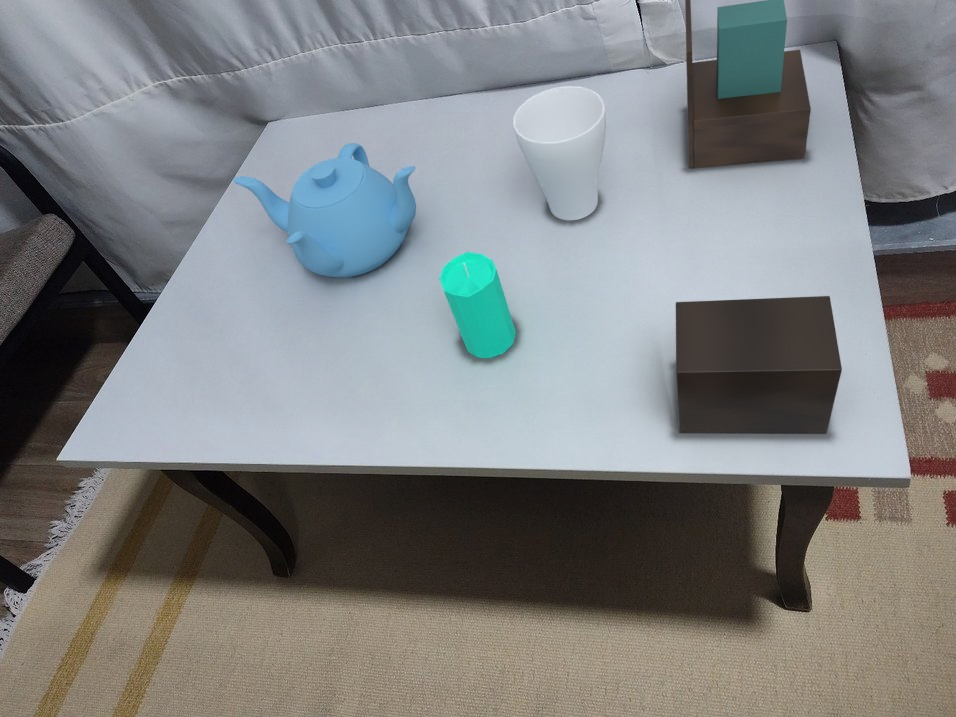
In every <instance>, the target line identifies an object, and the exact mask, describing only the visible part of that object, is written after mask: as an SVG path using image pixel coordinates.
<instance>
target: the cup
mask: <svg viewBox="0 0 956 717" xmlns="http://www.w3.org/2000/svg"><path fill="white" fill-rule="evenodd" d="M606 110H607V108H606V104H605V100H604V99H603V98H602V96H601V95H600V94H599V93H597V92H595V91H594V90H592V89H590V88H587V87H583V86H577V85H567V86H566V85H565V86H557V87H551V88H548V89H545V90H543V91H540V92H538V93H536V94H535V95H532V96H530V97H529V98H528V99H526V100H525V101H524V102H523V103H522V104H520V106H519V107H518V108H517V110H516V111H515V113H514V114H513V117H512V118H513V119H512V129H513V132H514V134H515V138H516V140H517V144H518V146H519V148H520V150H521V152H522V155H523V157H524V159H525V161H526V163H527V165H528V167H529V168H530V170H531V172H532V174H533V175H534V177H535V179H536V181H537V182H538V184H539V186H540V188H541V190H542V192H543V193H544V195H545V199H546V201H547V204H548V207H549V210H550V212H551V214H552V215H553V216H554V217H555V218H557V219H559V220H562V221H576V220H581V219H583V218H587V217H588V216H589V215H591V214H592V213H593V212H594V211H595V210H596V209H597V207H598V205H599V179H600V171H601V165H602V160H603V155H604V150H605V141H606V131H607V111H606Z"/></svg>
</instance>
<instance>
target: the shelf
mask: <svg viewBox="0 0 956 717" xmlns="http://www.w3.org/2000/svg"><path fill="white" fill-rule="evenodd" d="M691 1H692V0H684V7H685V8H684V9H685V10H684V12H685V58H686V59H685V62H686V113H687V114H686V116H687V152H688V154H687V155H688V158H687V159H688V169H698V168H711V167H721V166H733V165H743V164H744V165H745V164H756V163H767V162H780V161H792V160H802V159H805V158H806V151H807V143H808V136H809V128H810V118H811V113H812V112H811V111H812V108H811V103H810V97H809V92H808V85H807V79H806V74H805V68H804V63H803V57H802V52H801V49H792V50H784V60H783V71H782V82H781V92H776V93H767V94H758V95H749V96H740V97H731V98H721V99H718V94H717V78H716V72H717V59H712V60H703V61H695V62H693V34H692V33H693V32H692V30H693V29H692V28H693V27H692V2H691Z"/></svg>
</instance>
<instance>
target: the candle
mask: <svg viewBox="0 0 956 717" xmlns="http://www.w3.org/2000/svg"><path fill="white" fill-rule="evenodd" d="M439 282H440V285H441V288H442V290H443V293H444V295H445V298H446V300H447V303H448V305H449V308H450V311H451V313H452V316H453V317H454V321H455V323H456V325H457V328H458V330H459V333H460V335H461V339H462V340H463V343H464V346H465V349H466V351H467V352H468V353H470V354H471V355H472V356H474V357H476V358H483V359H492V358H494V357H497V356H500V355H503V354H505V352H507V351H508V350H509V349H510V348H511V347H512V346H513V345H514V342H515V339H516V334H517V331H516V329H515V326H514V322H513V319H512V314H511V311H510V308H509V306H508V303H507V298H506V295H505V292H504V290H503V285H502V283H501V282H502V281H501V279H500V276H499V273H498V269H497V266H496V265H495V263H494V260H493V259H491V258H489V257H488V256H486V255H484V254H483V253H479V252H470V251H465V252H464V253H462V254H460V255H457V256H456V257H455V256H454V257H453V258H452V259H450V261H448V262H447V263H446V264H445V265H443V267H442V269H441V271H440V274H439Z"/></svg>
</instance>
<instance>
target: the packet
mask: <svg viewBox="0 0 956 717" xmlns="http://www.w3.org/2000/svg"><path fill="white" fill-rule="evenodd" d="M716 8H717V9H716V11H717V13H716V14H717V15H716V60H717V72H716V78H717V94H718V99H721V98H731V97H740V96H749V95H758V94H767V93H776V92H781V82H782V71H783V60H784V51H785V47H786V38H787V37H786V36H787V26H788V18H787V10H786V5H785V0H759V1H758V0H757V1H750V2H745V3H738V4H730V5H723V6H717V7H716Z"/></svg>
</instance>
